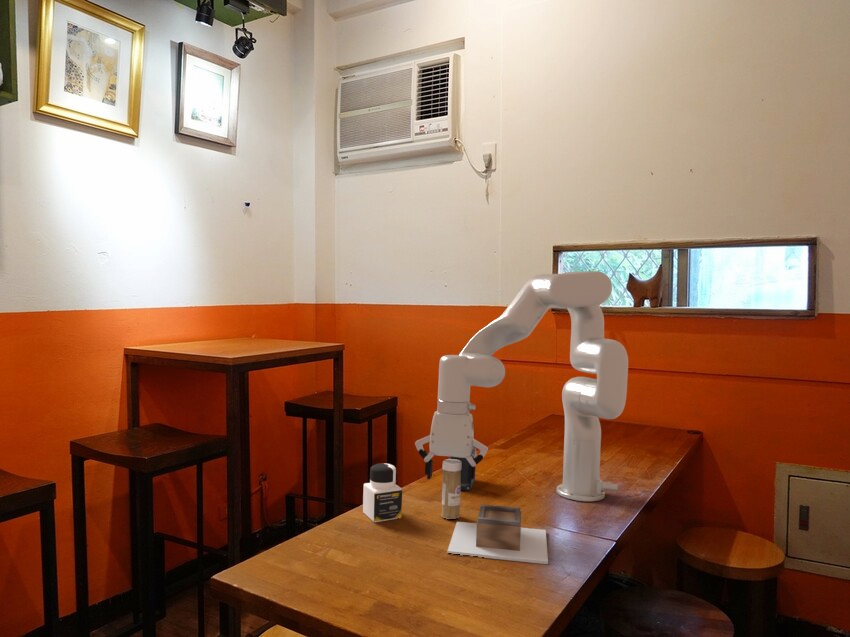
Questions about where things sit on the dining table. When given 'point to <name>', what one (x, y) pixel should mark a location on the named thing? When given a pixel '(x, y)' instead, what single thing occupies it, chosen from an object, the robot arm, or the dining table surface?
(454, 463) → the sprinkles bottle
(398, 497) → the medicine bottle
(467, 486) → the small box
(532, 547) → the white rectangular board
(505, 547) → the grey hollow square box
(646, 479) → the dining table surface
